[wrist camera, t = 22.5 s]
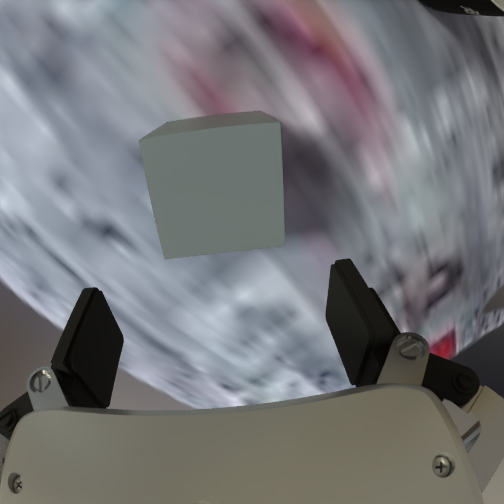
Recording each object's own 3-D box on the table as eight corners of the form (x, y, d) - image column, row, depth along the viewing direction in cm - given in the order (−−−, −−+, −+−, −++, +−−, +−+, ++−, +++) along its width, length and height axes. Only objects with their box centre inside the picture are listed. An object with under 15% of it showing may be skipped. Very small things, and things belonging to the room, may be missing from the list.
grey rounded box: (166, 122, 22) (139, 140, 15) (260, 110, 22) (280, 122, 15) (180, 206, 26) (164, 259, 19) (266, 196, 26) (284, 245, 19)
